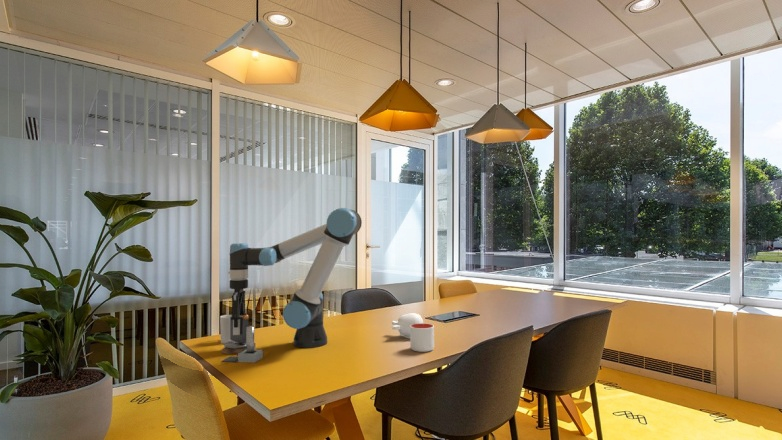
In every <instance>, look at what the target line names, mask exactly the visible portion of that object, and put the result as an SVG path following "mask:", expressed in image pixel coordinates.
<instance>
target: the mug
mask: <svg viewBox="0 0 782 440" xmlns="http://www.w3.org/2000/svg"><path fill="white" fill-rule="evenodd" d="M230 317H232V314H224V315H220V317H219V319H220V322H219V324H220V327H219V329H220V331H219V332H220V343H221V344H222V345H223V344H225V343H226V342H229V341H232V340H230Z"/></svg>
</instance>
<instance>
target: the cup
mask: <svg viewBox="0 0 782 440" xmlns="http://www.w3.org/2000/svg"><path fill="white" fill-rule="evenodd" d="M409 342H410V349H411V350H412V351H414V352H417V353H427V352H432V351H433V349H434V348H435V325H434V324H432V323H431V324H430V323H424V322H423V323H420V324H413V325H411V326H410V341H409Z"/></svg>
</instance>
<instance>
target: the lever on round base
mask: <svg viewBox="0 0 782 440" xmlns="http://www.w3.org/2000/svg"><path fill="white" fill-rule="evenodd" d="M239 319H240V335H233V320H231V317H230V340H232V341H229V342H226V343H225V344H224V347H223V348H227V349H242V348H247V347H246V327H247V326H249V314H246V315H243V317H239Z"/></svg>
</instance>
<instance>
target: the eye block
mask: <svg viewBox="0 0 782 440" xmlns="http://www.w3.org/2000/svg"><path fill="white" fill-rule="evenodd" d="M263 353H264V351H263V349H254V353H253V354H249V353H247V349H246V350H244V351H243V352H241V353H239V354H237V357H238V361H237V363H256V362H258V361H260V360H261V359H262V358H263V357H264V354H263Z"/></svg>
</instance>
